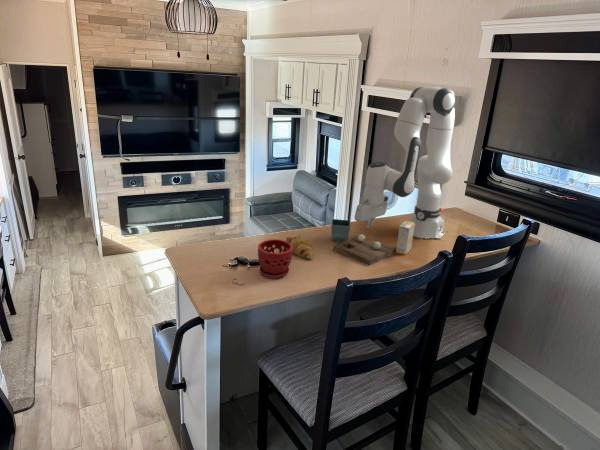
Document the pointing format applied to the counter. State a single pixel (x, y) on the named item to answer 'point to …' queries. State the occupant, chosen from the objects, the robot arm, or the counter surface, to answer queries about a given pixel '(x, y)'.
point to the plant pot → (274, 258)
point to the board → (362, 250)
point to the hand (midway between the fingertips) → (368, 226)
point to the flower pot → (340, 230)
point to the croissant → (301, 247)
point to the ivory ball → (361, 237)
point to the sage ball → (377, 245)
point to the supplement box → (405, 237)
